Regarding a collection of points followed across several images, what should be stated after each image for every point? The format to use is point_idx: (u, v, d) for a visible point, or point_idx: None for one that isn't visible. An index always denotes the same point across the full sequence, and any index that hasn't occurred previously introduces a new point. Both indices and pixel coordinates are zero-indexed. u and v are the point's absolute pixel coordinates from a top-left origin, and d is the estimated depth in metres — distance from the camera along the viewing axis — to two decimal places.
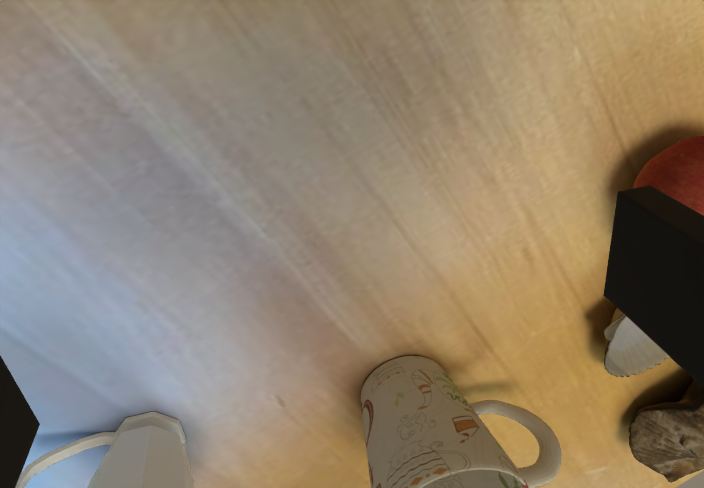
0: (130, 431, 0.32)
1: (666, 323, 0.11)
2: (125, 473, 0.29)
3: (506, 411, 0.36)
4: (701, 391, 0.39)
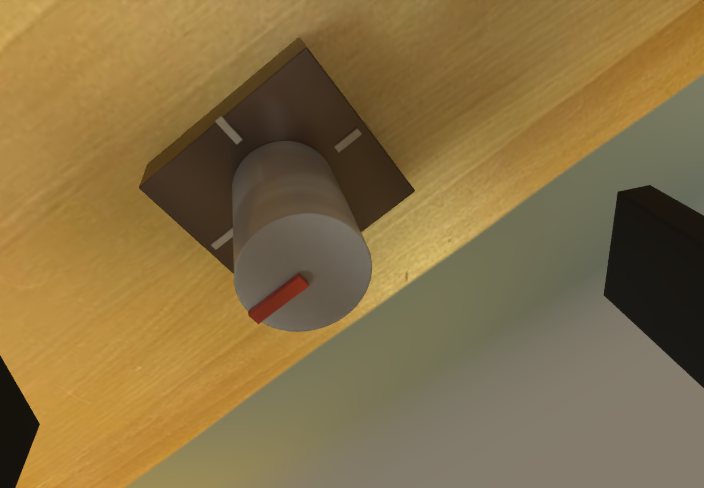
0: None
1: (666, 323, 0.11)
2: None
3: None
4: None
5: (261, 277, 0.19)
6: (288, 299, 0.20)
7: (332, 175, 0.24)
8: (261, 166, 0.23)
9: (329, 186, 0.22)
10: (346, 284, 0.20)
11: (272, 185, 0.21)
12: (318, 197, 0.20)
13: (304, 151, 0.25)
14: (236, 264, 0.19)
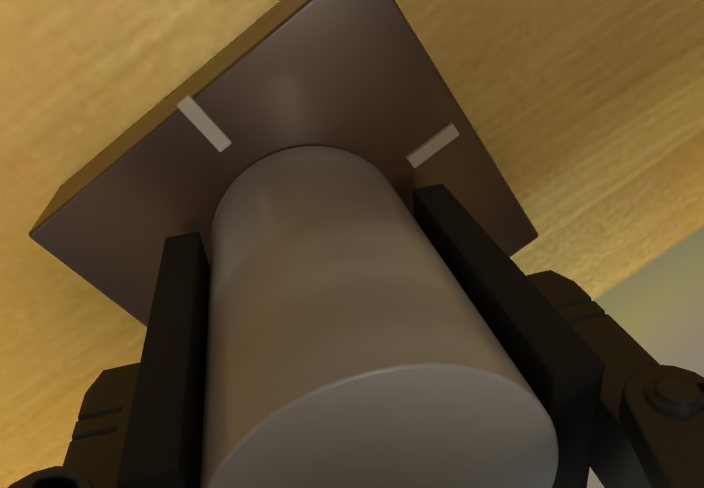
0: None
1: None
2: None
3: None
4: None
5: None
6: None
7: (413, 217, 0.12)
8: (270, 201, 0.11)
9: (427, 252, 0.10)
10: None
11: (299, 254, 0.09)
12: (423, 297, 0.08)
13: (355, 167, 0.12)
14: None
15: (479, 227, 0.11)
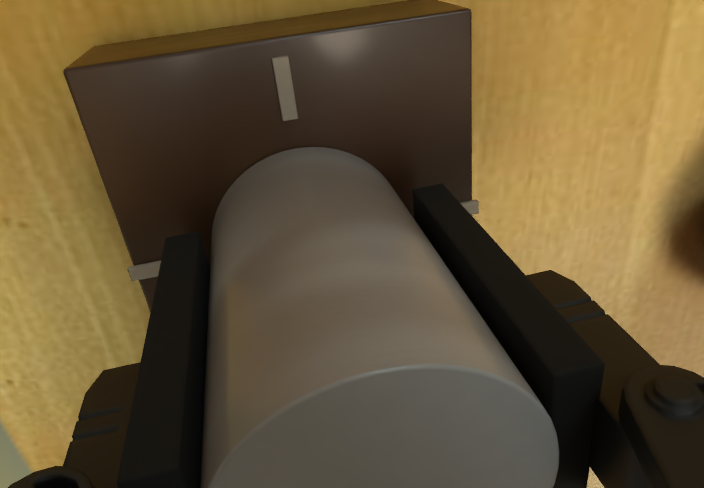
0: None
1: None
2: None
3: None
4: None
5: None
6: None
7: (413, 218, 0.12)
8: (270, 202, 0.11)
9: (427, 253, 0.10)
10: None
11: (300, 255, 0.09)
12: (424, 297, 0.08)
13: (355, 168, 0.12)
14: None
15: (479, 227, 0.11)
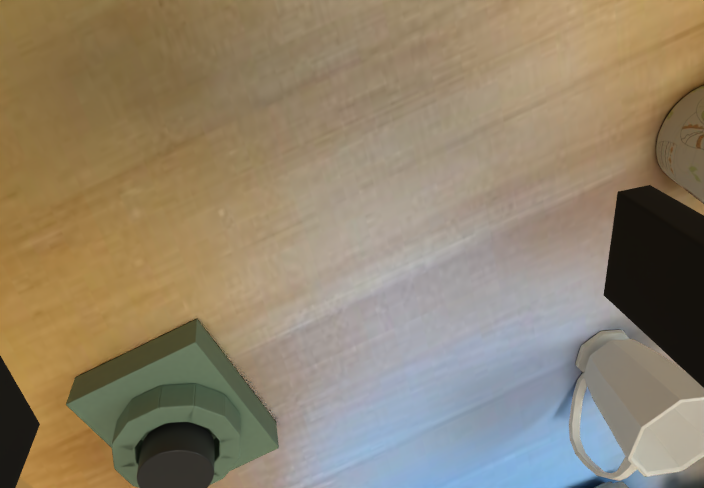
0: (585, 371, 0.39)
1: (666, 323, 0.11)
2: (611, 404, 0.35)
3: None
4: None
5: None
6: None
7: None
8: None
9: None
10: None
11: None
12: None
13: None
14: None
15: None
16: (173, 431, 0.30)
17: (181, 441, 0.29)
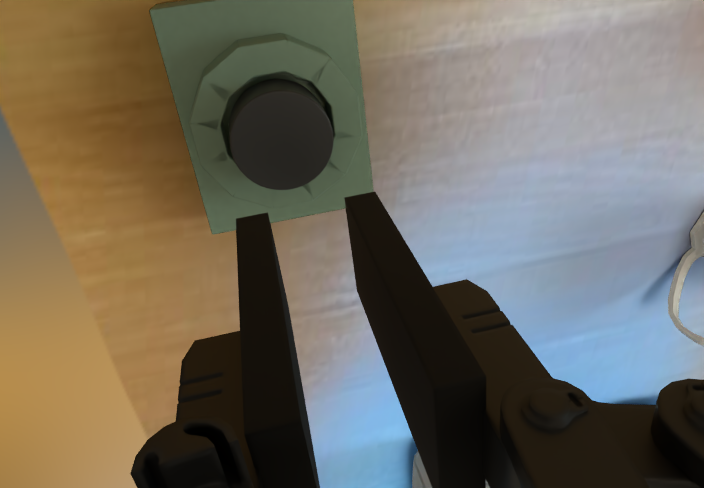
0: None
1: (372, 314, 0.12)
2: None
3: None
4: None
5: None
6: None
7: None
8: None
9: None
10: None
11: None
12: None
13: None
14: None
15: (399, 236, 0.11)
16: (293, 84, 0.21)
17: (305, 93, 0.21)
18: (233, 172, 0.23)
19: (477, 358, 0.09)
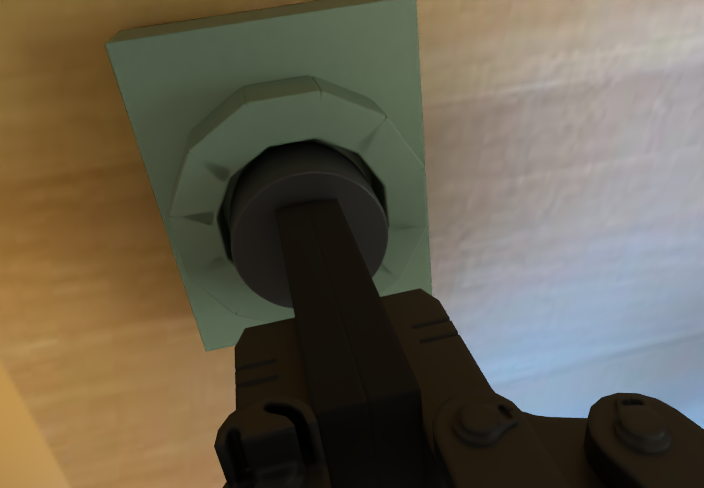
0: None
1: None
2: None
3: None
4: None
5: None
6: None
7: None
8: None
9: None
10: None
11: None
12: None
13: None
14: None
15: (354, 244, 0.11)
16: (327, 153, 0.14)
17: (347, 170, 0.14)
18: (237, 282, 0.15)
19: (420, 369, 0.09)
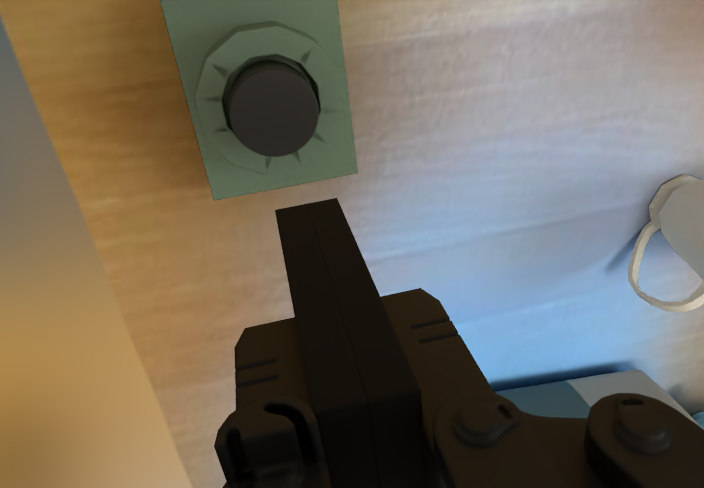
0: (664, 207, 0.37)
1: None
2: (702, 222, 0.33)
3: None
4: None
5: None
6: None
7: None
8: None
9: None
10: None
11: None
12: None
13: None
14: None
15: (354, 244, 0.11)
16: (283, 64, 0.25)
17: (294, 72, 0.24)
18: (232, 142, 0.26)
19: (420, 369, 0.09)
